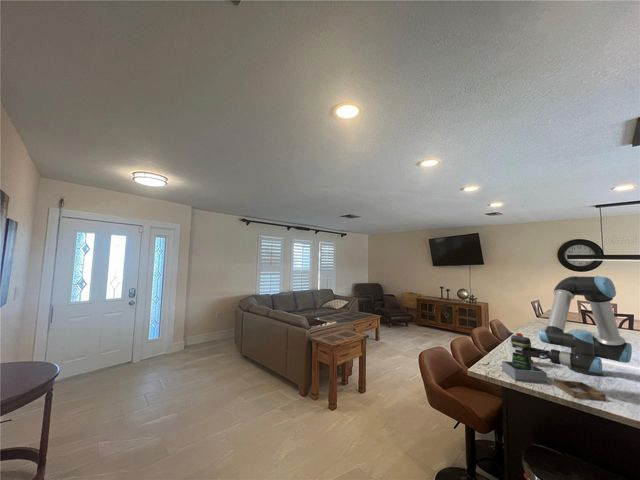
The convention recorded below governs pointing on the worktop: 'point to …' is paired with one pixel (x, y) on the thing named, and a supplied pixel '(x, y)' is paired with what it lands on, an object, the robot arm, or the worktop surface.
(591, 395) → the walnut collar
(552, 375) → the worktop surface
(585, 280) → the robot arm
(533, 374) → the charcoal bin
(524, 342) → the coffee jar
